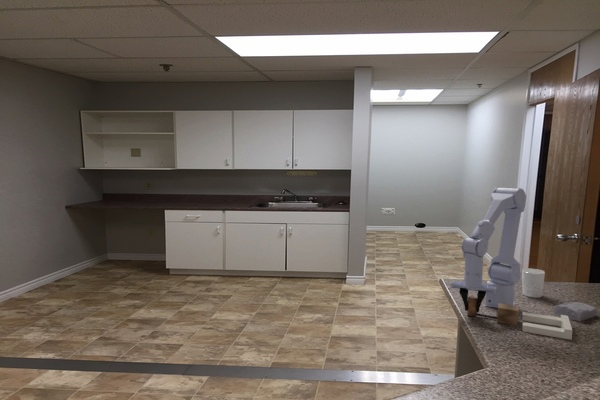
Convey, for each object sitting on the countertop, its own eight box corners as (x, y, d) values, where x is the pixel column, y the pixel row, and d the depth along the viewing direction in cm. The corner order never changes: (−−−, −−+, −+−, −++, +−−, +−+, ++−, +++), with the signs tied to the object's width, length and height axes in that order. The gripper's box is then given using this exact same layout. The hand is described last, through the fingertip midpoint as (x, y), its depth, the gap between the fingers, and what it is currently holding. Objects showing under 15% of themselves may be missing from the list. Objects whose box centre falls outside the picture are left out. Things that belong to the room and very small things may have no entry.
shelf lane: (522, 331, 127) (522, 322, 127) (522, 317, 138) (522, 309, 138) (571, 339, 121) (572, 330, 121) (567, 324, 132) (567, 315, 132)
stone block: (551, 318, 142) (581, 323, 133) (549, 305, 143) (579, 308, 134) (570, 313, 148) (600, 317, 139) (568, 300, 148) (598, 303, 140)
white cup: (522, 290, 167) (523, 267, 166) (544, 294, 163) (545, 270, 162) (519, 295, 161) (520, 271, 160) (542, 299, 156) (543, 274, 155)
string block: (466, 316, 139) (467, 299, 138) (467, 311, 143) (469, 295, 142) (517, 325, 131) (518, 308, 131) (517, 320, 136) (518, 303, 135)
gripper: (449, 272, 139) (448, 310, 140) (496, 278, 132) (494, 318, 133) (452, 267, 145) (451, 304, 146) (497, 273, 138) (495, 311, 139)
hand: (472, 310), depth 140 cm, fingers closed on string block, 3 cm apart
